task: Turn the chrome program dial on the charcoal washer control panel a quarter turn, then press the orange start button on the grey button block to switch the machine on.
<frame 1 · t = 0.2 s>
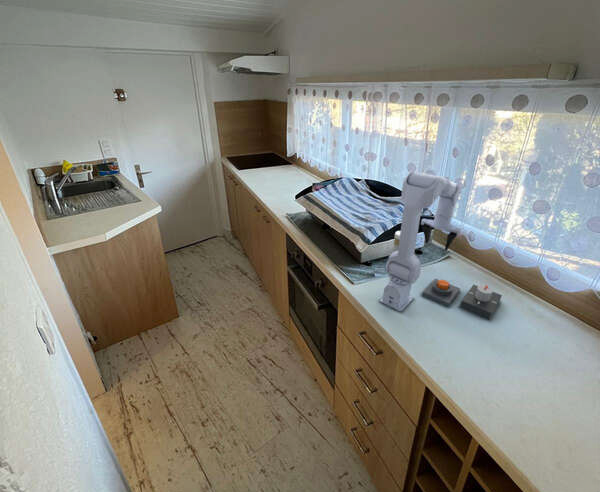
hand: (436, 245, 119), 10 cm above the worktop, tool pointing down, fingers open, 7 cm apart
program dial: (483, 293, 101), point 5 cm above the worktop, hinge at 0.0°
start button: (443, 284, 107), point 4 cm above the worktop, slide at 0.1 cm
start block: (440, 293, 109), on the worktop
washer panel: (479, 304, 104), on the worktop
sprinkles bottle: (396, 261, 128), on the worktop
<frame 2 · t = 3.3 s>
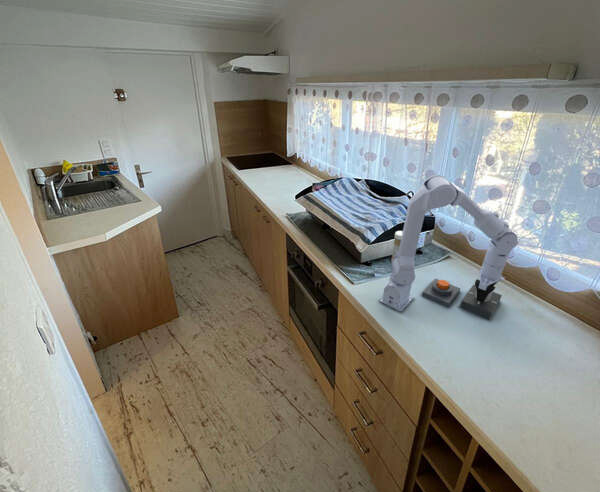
hand: (482, 296, 102), 4 cm above the worktop, tool pointing down, fingers closed on program dial, 4 cm apart
program dial: (483, 293, 101), point 5 cm above the worktop, hinge at -0.2°, touching gripper
everything else where it was.
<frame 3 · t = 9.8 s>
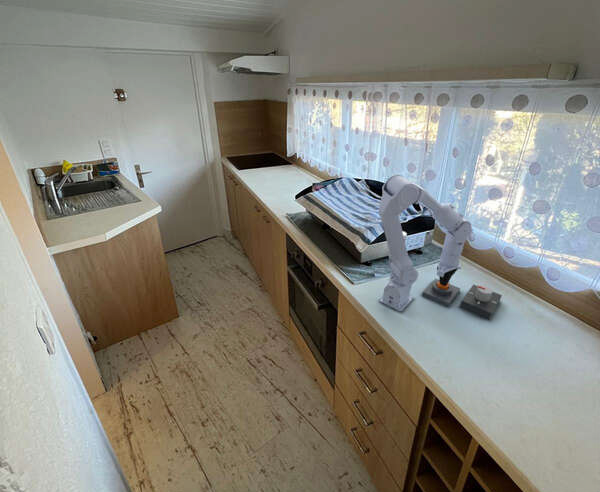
hand: (443, 284, 107), 4 cm above the worktop, tool pointing down, fingers closed, pressing on start button
program dial: (483, 293, 101), point 5 cm above the worktop, hinge at 90.0°
start button: (442, 286, 108), point 3 cm above the worktop, slide at -0.5 cm, touching gripper
everything else where it was.
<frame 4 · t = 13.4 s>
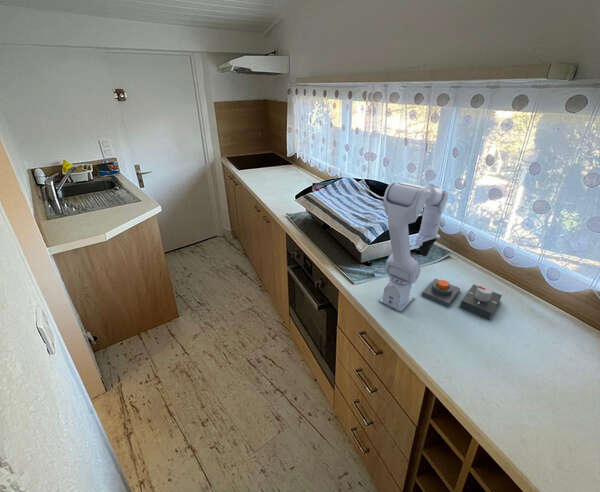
hand: (423, 254, 113), 10 cm above the worktop, tool pointing down, fingers closed
start button: (443, 284, 107), point 4 cm above the worktop, slide at 0.1 cm
everything else where it was.
at the end: program dial at +90° (first picture: +0°); start button pushed in 1.2 cm at the most during the clip, back to where it started at the end; start button slide at 0.1 cm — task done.
